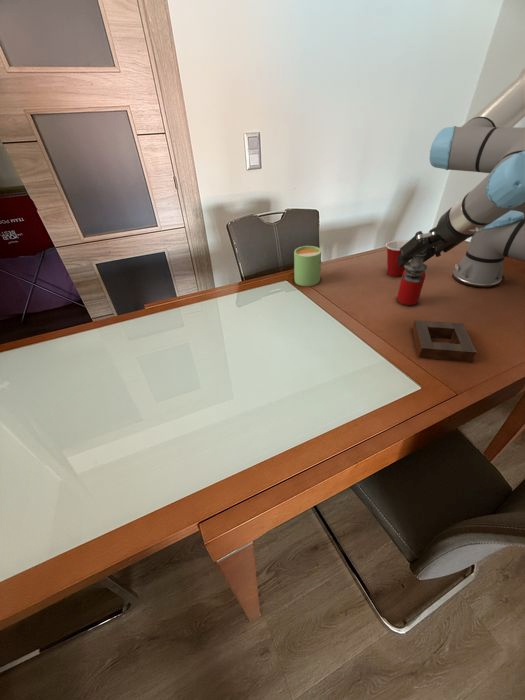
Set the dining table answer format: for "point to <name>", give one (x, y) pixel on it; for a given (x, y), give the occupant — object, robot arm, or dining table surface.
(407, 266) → the grey tall piece
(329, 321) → the dining table surface
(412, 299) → the beverage can
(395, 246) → the plastic cup
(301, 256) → the mug
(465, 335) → the socket base
